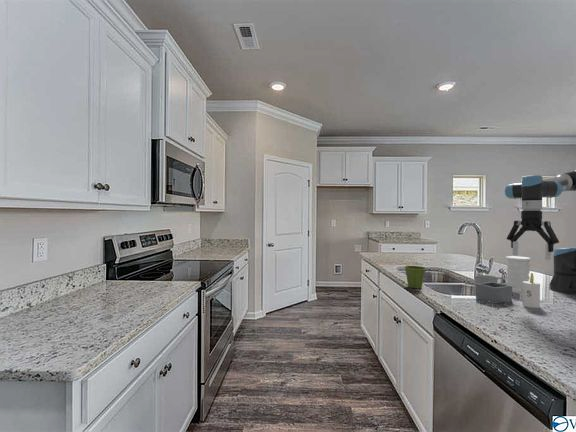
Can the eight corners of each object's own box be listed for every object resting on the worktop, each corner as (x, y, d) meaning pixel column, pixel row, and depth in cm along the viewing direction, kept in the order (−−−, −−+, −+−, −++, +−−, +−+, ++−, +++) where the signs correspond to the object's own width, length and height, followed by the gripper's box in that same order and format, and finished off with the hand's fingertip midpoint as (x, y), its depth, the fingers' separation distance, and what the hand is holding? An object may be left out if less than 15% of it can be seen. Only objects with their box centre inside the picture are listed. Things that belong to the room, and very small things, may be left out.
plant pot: (420, 290, 172) (420, 270, 172) (400, 287, 181) (400, 267, 181) (430, 287, 180) (430, 267, 180) (410, 283, 189) (410, 264, 189)
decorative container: (499, 289, 175) (499, 256, 174) (513, 287, 179) (513, 255, 179) (522, 294, 164) (522, 259, 164) (536, 292, 168) (536, 258, 168)
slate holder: (491, 296, 161) (491, 281, 161) (511, 301, 151) (512, 286, 151) (476, 298, 157) (476, 283, 156) (496, 304, 147) (496, 288, 147)
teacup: (476, 292, 169) (476, 277, 169) (472, 287, 179) (472, 273, 179) (507, 294, 164) (507, 278, 164) (501, 289, 175) (501, 275, 175)
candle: (520, 305, 145) (520, 272, 144) (524, 303, 149) (524, 270, 149) (537, 309, 140) (537, 274, 140) (541, 306, 144) (541, 272, 144)
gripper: (498, 210, 154) (498, 254, 154) (558, 209, 131) (558, 261, 131) (508, 210, 157) (508, 253, 157) (569, 210, 134) (569, 260, 134)
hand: (531, 257), depth 144 cm, fingers open, 13 cm apart
